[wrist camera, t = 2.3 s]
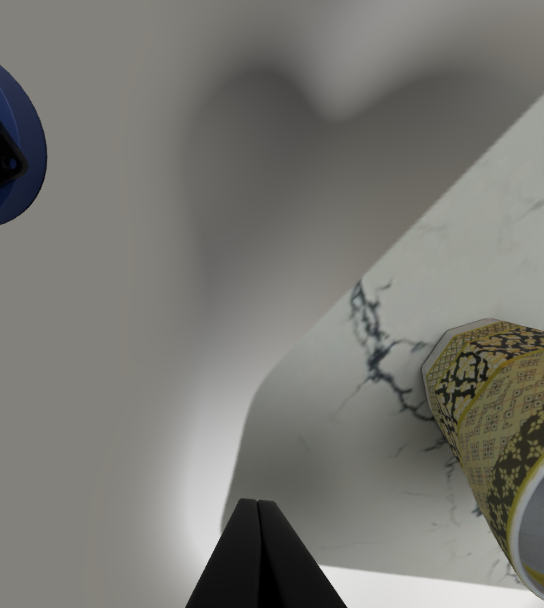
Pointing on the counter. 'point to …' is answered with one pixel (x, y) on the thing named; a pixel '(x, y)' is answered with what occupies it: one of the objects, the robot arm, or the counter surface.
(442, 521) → the counter surface
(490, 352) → the ceramic cup
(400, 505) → the counter surface
